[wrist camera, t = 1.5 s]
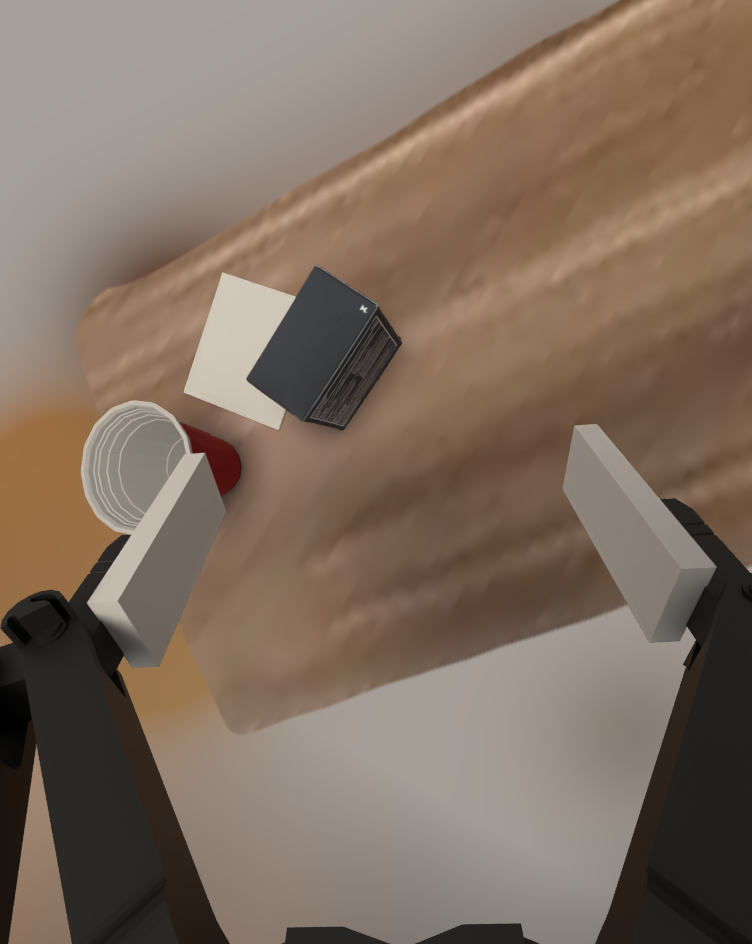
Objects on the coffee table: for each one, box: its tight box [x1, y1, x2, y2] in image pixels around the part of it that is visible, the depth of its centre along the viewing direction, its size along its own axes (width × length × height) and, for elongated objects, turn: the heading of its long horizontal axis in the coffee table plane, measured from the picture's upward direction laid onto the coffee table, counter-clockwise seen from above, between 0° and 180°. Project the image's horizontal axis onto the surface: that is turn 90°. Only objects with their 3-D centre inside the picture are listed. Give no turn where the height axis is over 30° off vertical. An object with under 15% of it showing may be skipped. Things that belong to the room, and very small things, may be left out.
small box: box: [246, 265, 402, 430], centre depth 39 cm, size 11×6×10 cm, turn 145°
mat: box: [184, 273, 296, 430], centre depth 46 cm, size 12×13×1 cm
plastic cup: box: [81, 400, 241, 535], centre depth 41 cm, size 11×11×12 cm
